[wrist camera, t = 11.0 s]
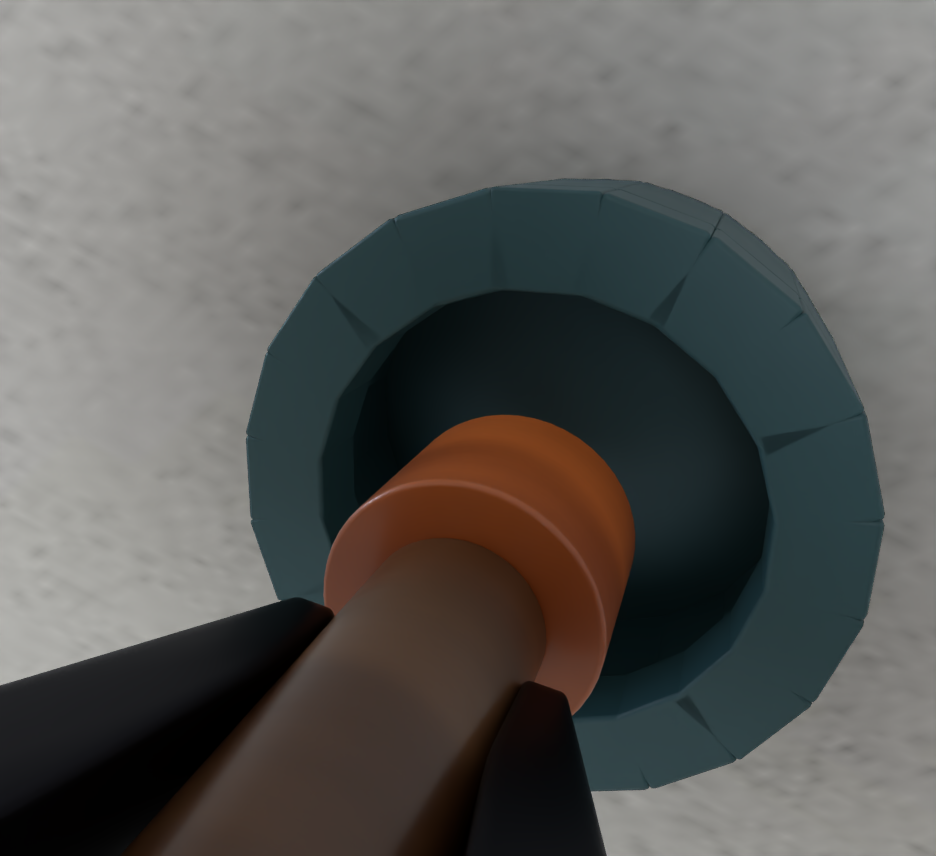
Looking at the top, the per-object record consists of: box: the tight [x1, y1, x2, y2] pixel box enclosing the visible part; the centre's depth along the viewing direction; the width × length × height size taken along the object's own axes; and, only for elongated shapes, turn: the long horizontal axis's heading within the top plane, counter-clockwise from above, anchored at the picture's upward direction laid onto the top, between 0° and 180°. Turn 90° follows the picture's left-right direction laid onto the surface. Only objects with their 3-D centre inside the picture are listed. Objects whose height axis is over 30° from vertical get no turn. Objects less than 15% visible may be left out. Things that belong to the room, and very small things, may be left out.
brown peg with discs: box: [120, 415, 635, 856], centre depth 8 cm, size 3×3×8 cm
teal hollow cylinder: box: [246, 179, 885, 791], centre depth 14 cm, size 9×9×5 cm
